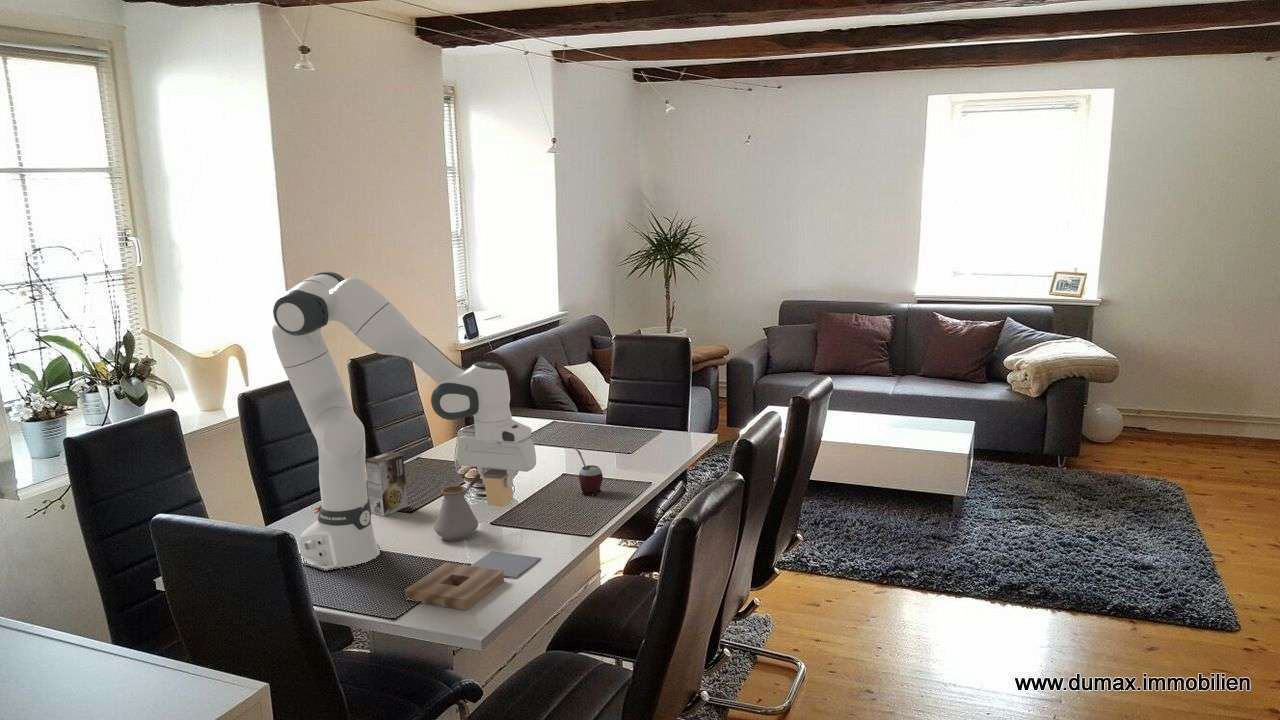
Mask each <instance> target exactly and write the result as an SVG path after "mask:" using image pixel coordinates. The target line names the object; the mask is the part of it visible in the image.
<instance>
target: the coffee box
mask: <svg viewBox="0 0 1280 720" xmlns="http://www.w3.org/2000/svg"><path fill="white" fill-rule="evenodd" d="M404 461H405V460H404V454H401V453H398V452H393V451H387V452H384V453H381V454H378V455H375V456H372V457H369V458H365V474H366V483H367V493H368V500H369V501H370V505H371V514H373V513H374V515H378V516H380V517H386V516H389V515H391V514H394V513H396V512H399V511H401V510H403V509H402V508H404V509H406V508H408V507H409V501H408V500H409V498H408V490H407V489H408V488H407V483H406V482H407V480H406V470H405V469H406V468H405V462H404ZM407 506H408V507H407ZM405 507H406V508H405ZM400 509H401V510H400ZM398 510H399V511H398Z"/></svg>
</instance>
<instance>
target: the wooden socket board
mask: <svg viewBox="0 0 1280 720" xmlns="http://www.w3.org/2000/svg"><path fill="white" fill-rule="evenodd" d="M503 582H505V577H504V574H503V571H500V570H493V569H486V568H480V567H473V566H471V565H466V564H460V563H459V564H458V563H452V562H444V563H443V564H442V565H440V566H439V567H437V568H435V569H434V570H432V571H430V573H427V574H426V575H425V576H423V577H421V578H420V579H419V580H417V581H416V582H413V584H411V585H410V586H408V587H407V588H405V589H404V597H405V598H409V599H414V600H418V601H421V602H423V603H422V604H425V603H426V605H431V606H437V607H442V608H448V609H455V610H460V611H466V612H467V610H468V609H470V608H471V607H472V606H474V605H475V604H476V603H478V602H479V601H480V600H482V599H483V598H484V597H486V596H487V595H488V594H489V593H491V592H492V591H493V590H494V589H496V588H497V587H498V586H499V585H501V584H502V583H503Z"/></svg>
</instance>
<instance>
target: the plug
mask: <svg viewBox="0 0 1280 720" xmlns="http://www.w3.org/2000/svg"><path fill="white" fill-rule="evenodd" d="M508 476H509V474H507V470H503V469H493V468H490V469H488V470H486V473H484V481H485V485H484V488H485V496H486V502H487V503H486V504H487V505H488V506H493V507H500V508H501V507H505V506H507V505H508V504H509V503H511V502H512V501H514V494H513V486H512V487H504V480H505V479H507V478H508Z"/></svg>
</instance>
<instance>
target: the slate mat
mask: <svg viewBox="0 0 1280 720" xmlns="http://www.w3.org/2000/svg"><path fill="white" fill-rule="evenodd" d="M540 560H542V559H541V557H537V556H531V555H523V554H516V553H511V552H501V551H495V550H492V551H490V552H489V553H487V554H485V555H484V556H482V557H481V558H479V559H478V560H477V561H475V562H474V563H472V565H470V566H473V567H480V568H486V569H493V570H500V571H503V574H504V578H508V579H515V580H516V579H517V578H519V577H520V576H521V575H523V574H524V573H525V572H526V571H528V570H529V569H530V568H532V567H533V566H534V565H536V564H537V563H538V562H539V561H540Z"/></svg>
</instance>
